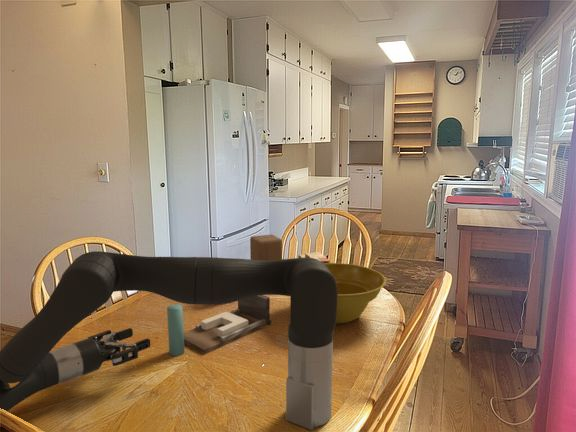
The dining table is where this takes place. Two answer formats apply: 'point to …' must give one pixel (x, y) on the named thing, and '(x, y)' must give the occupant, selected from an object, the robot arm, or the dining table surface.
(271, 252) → the block
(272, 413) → the dining table surface
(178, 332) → the dowel
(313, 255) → the stack of blocks
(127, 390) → the dining table surface
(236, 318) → the carriage
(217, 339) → the rail base
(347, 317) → the planter bowl
